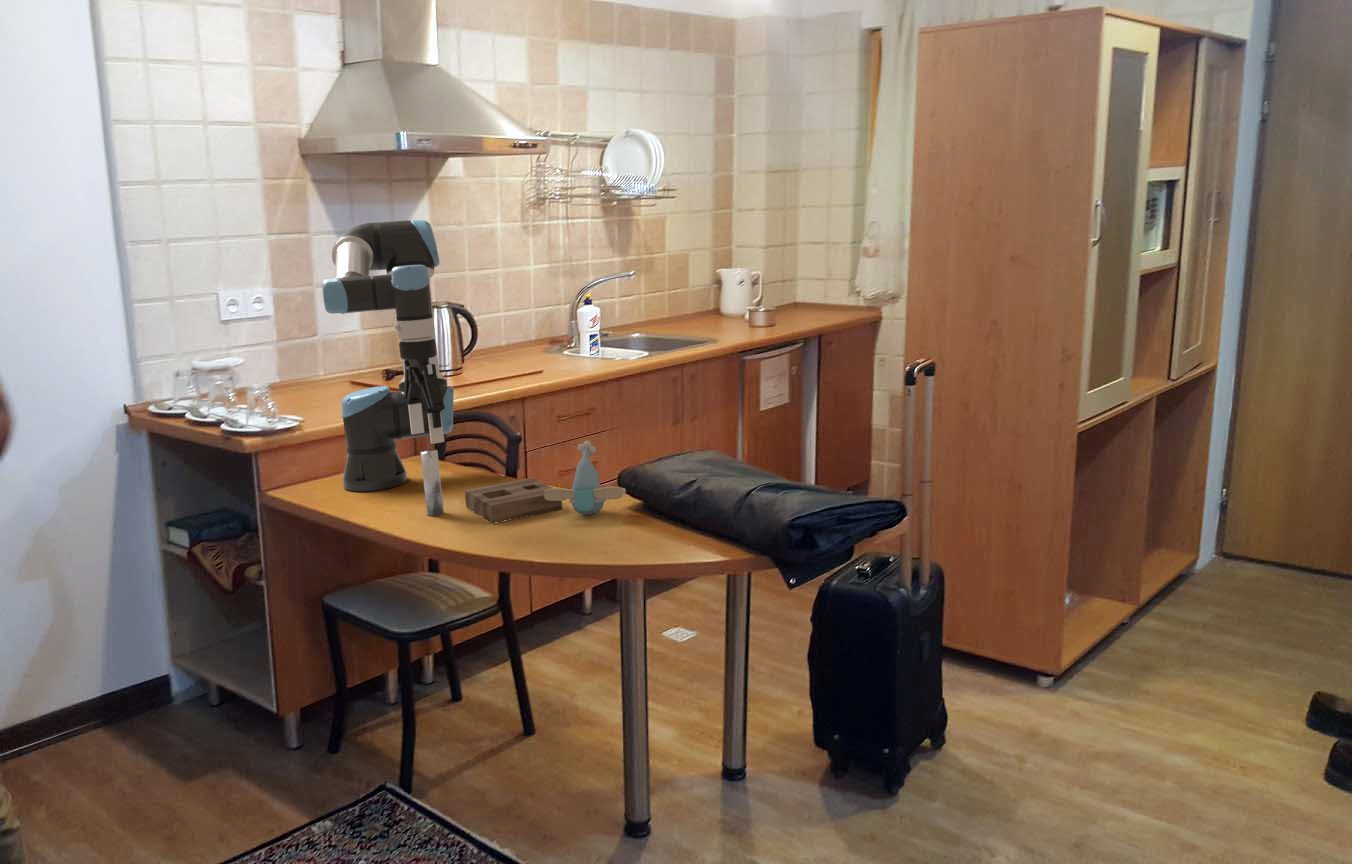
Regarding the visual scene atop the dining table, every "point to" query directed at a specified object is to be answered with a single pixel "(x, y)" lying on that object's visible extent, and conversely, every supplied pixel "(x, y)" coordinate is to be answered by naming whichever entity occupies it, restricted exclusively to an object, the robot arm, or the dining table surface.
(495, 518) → the block
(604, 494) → the toy figure
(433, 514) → the pin
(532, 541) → the dining table surface
